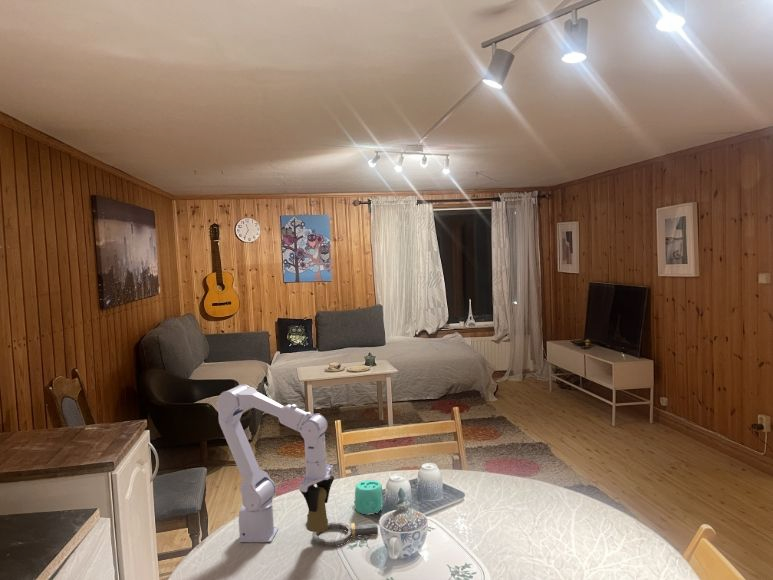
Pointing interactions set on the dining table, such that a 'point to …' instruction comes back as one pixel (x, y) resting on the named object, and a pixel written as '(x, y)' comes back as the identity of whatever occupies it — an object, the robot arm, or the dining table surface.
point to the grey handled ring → (352, 531)
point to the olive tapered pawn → (318, 514)
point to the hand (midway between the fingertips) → (318, 506)
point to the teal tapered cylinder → (368, 496)
